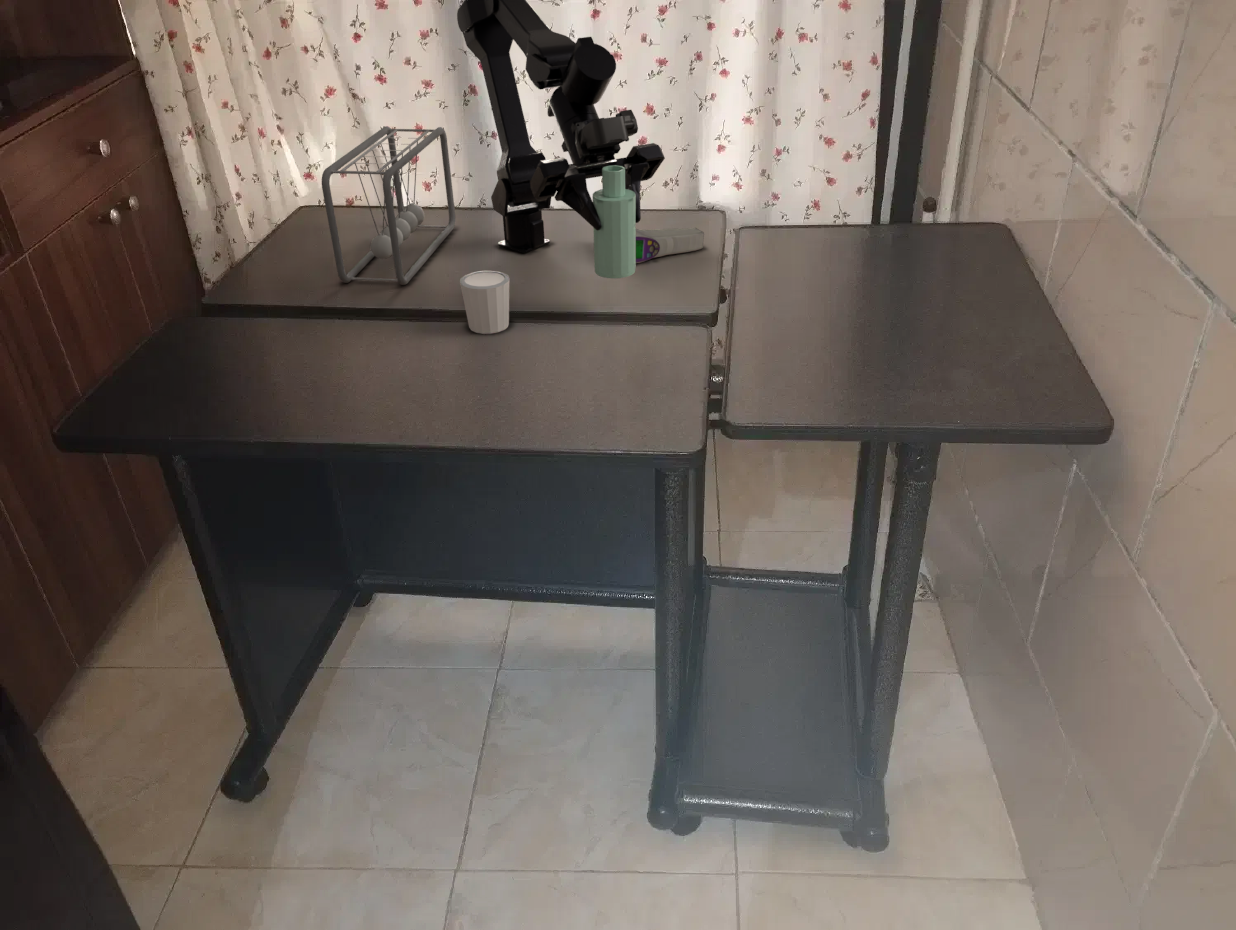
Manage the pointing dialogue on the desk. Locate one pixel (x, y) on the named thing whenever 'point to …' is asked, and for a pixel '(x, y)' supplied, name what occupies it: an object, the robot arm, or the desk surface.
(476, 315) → the shot glass
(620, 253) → the water bottle
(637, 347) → the desk surface
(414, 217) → the newton's cradle
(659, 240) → the infrared thermometer
